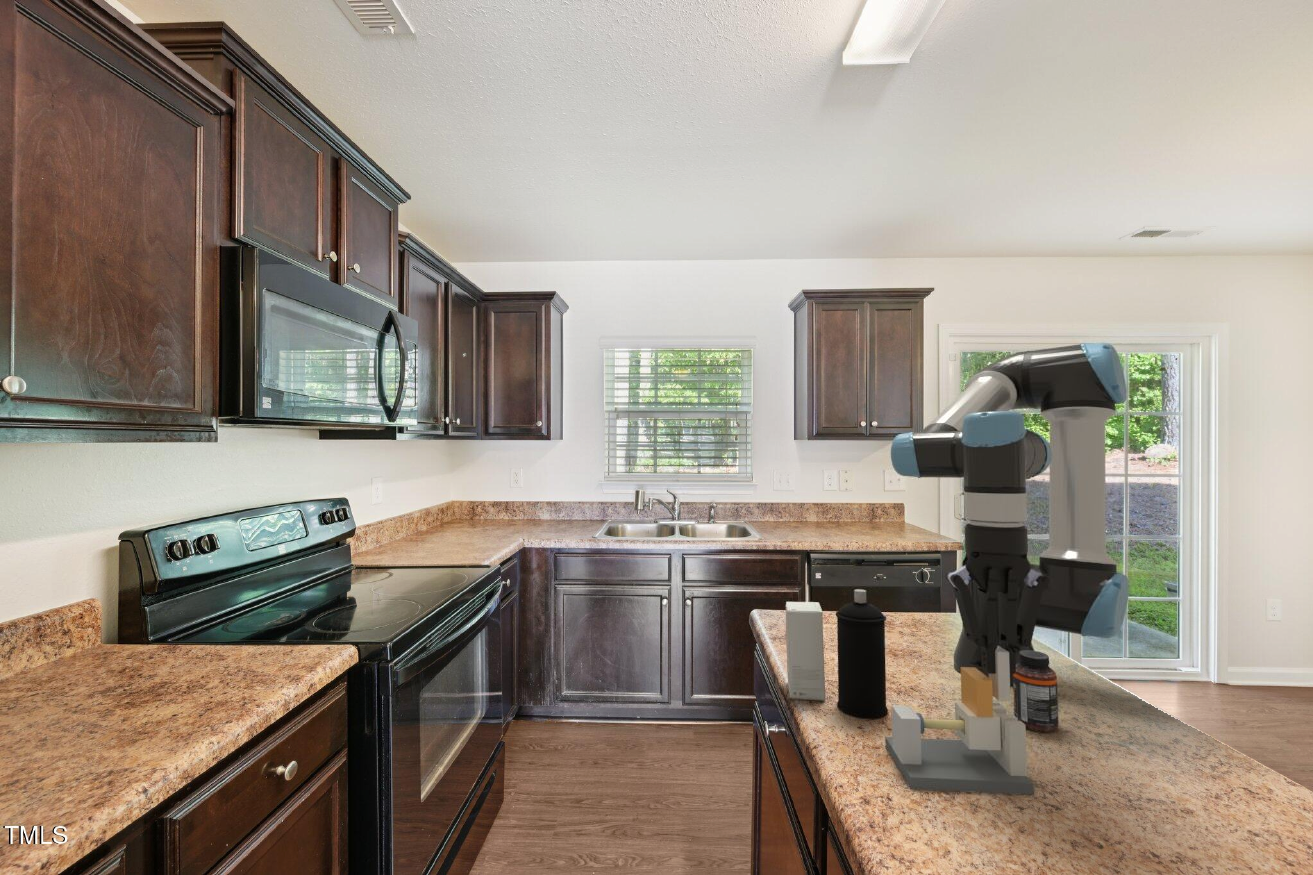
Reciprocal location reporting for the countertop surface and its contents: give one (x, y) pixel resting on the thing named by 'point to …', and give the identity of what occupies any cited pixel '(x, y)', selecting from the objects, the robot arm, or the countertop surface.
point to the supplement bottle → (1035, 692)
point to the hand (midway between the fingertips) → (999, 696)
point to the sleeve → (977, 712)
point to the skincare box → (805, 650)
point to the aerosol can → (861, 659)
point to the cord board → (958, 755)
